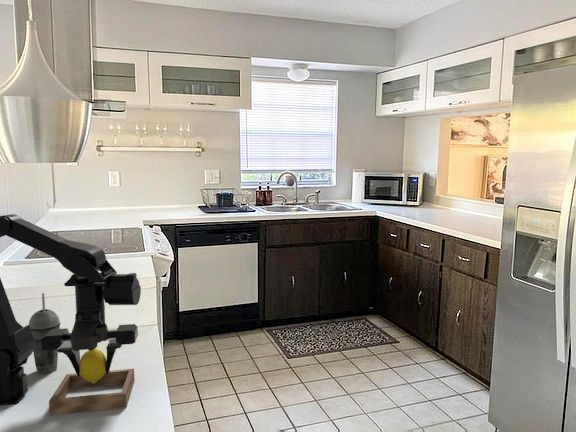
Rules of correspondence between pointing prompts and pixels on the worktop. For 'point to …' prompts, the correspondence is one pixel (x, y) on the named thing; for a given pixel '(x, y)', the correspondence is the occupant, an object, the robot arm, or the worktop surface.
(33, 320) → the beverage cup
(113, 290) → the robot arm
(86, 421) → the worktop surface
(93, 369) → the lemon
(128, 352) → the worktop surface
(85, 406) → the box
